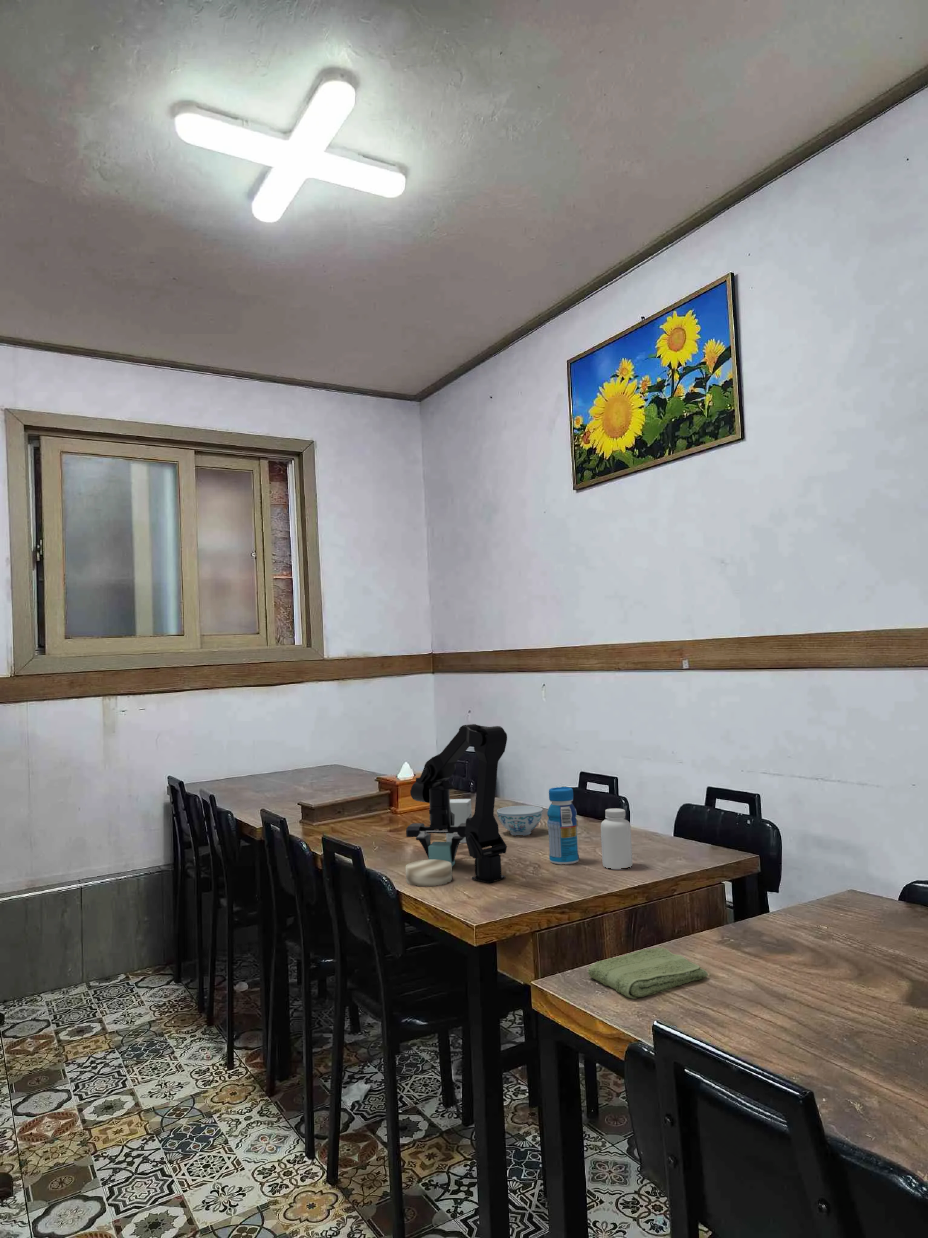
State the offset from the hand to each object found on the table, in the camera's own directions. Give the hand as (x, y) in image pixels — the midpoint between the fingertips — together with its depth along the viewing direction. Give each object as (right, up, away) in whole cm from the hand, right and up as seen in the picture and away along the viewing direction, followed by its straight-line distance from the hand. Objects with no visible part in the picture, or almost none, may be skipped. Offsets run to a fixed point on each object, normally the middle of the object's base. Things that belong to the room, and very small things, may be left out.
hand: (442, 861), depth 225 cm
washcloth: (+38, +5, -85) cm, 93 cm away
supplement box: (+5, -3, +32) cm, 33 cm away
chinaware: (+25, -3, +39) cm, 46 cm away
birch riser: (-3, -1, -14) cm, 14 cm away
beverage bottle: (+34, 0, 0) cm, 34 cm away
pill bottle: (+47, +1, -8) cm, 48 cm away
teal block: (0, -1, 0) cm, 1 cm away
